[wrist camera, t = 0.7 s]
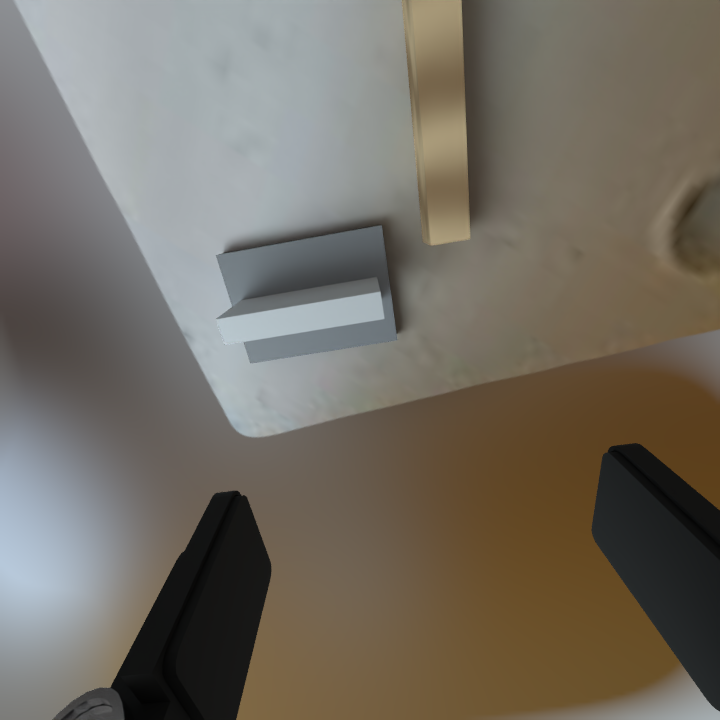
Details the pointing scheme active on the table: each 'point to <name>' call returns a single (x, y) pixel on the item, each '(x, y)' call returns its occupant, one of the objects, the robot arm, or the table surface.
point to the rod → (438, 116)
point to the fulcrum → (308, 295)
